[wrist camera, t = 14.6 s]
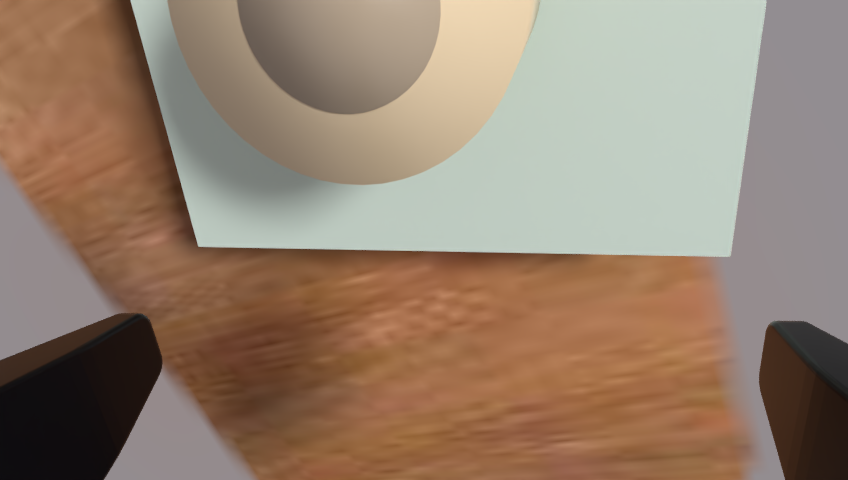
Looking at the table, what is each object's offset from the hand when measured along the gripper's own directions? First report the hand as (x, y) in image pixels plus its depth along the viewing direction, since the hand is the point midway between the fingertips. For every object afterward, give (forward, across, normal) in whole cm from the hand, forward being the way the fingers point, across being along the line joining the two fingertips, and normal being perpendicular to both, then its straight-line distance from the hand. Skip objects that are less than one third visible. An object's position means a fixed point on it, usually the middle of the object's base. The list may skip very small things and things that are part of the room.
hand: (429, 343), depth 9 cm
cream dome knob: (+8, +2, -4) cm, 10 cm away
